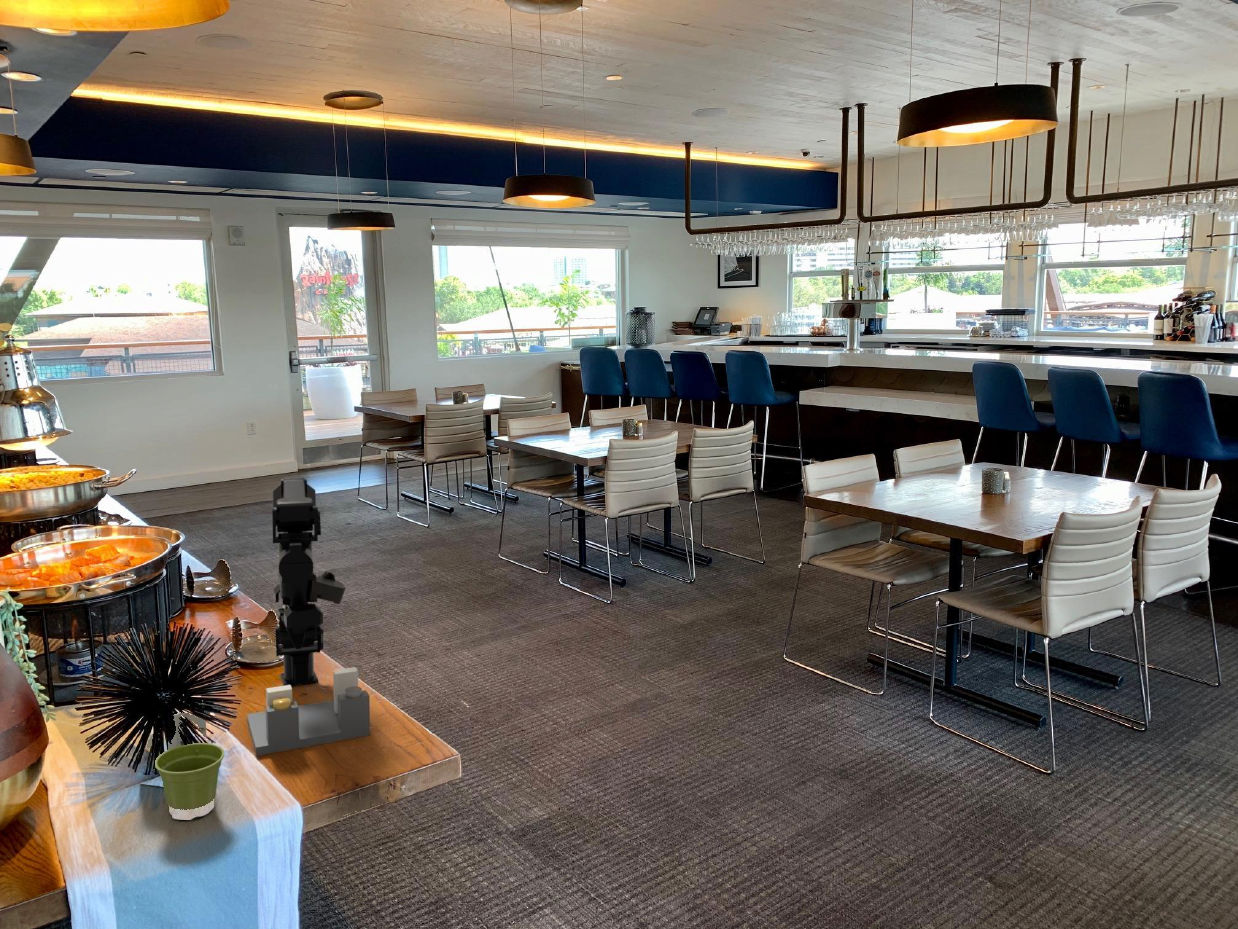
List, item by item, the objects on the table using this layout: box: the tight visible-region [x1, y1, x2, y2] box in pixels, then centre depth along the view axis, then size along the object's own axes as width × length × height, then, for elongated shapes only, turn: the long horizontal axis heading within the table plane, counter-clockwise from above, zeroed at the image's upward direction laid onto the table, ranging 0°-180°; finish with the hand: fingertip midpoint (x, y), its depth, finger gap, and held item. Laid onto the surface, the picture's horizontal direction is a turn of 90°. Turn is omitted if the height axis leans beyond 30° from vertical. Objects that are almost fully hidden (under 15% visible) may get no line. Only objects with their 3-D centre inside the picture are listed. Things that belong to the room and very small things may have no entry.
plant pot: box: [155, 742, 225, 810], centre depth 137 cm, size 9×9×9 cm
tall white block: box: [265, 685, 293, 706], centre depth 159 cm, size 2×4×8 cm, turn 117°
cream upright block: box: [332, 666, 359, 714], centre depth 168 cm, size 2×4×8 cm, turn 118°
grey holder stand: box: [246, 686, 371, 757], centre depth 164 cm, size 14×19×8 cm
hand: (298, 648), depth 171 cm, fingers closed
